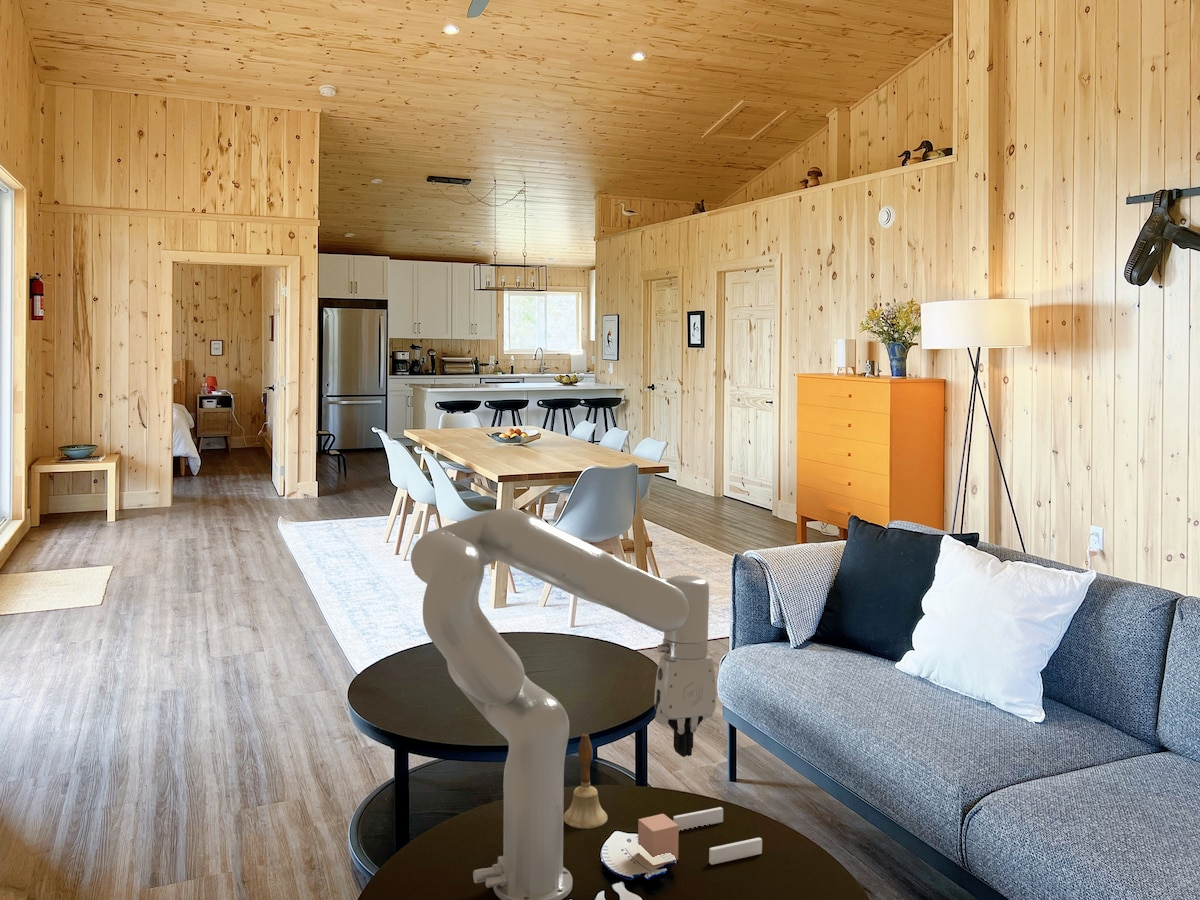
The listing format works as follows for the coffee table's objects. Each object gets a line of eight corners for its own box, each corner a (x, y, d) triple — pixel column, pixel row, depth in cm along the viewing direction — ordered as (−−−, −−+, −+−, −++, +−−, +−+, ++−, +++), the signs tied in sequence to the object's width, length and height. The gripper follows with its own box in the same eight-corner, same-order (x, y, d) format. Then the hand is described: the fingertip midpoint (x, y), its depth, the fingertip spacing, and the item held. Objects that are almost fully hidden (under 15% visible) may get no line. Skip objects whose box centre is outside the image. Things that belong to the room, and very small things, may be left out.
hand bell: (595, 832, 165) (596, 745, 164) (555, 823, 169) (555, 737, 168) (614, 814, 172) (616, 730, 172) (575, 805, 176) (576, 723, 175)
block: (652, 866, 153) (653, 831, 153) (637, 853, 158) (638, 819, 157) (678, 859, 156) (678, 825, 155) (662, 847, 160) (663, 813, 160)
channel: (711, 864, 154) (711, 850, 154) (673, 829, 166) (673, 816, 166) (761, 853, 158) (762, 839, 158) (720, 820, 170) (721, 806, 170)
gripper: (656, 658, 151) (654, 767, 152) (734, 650, 157) (731, 755, 158) (636, 647, 158) (634, 751, 159) (712, 639, 164) (709, 740, 165)
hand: (683, 753), depth 158 cm, fingers closed
